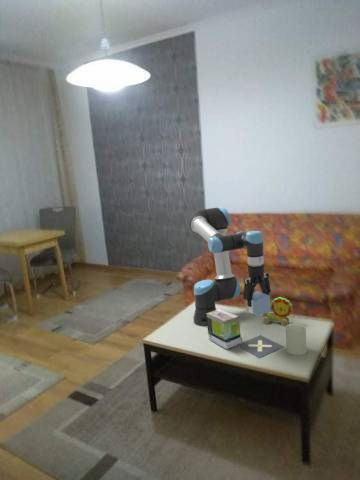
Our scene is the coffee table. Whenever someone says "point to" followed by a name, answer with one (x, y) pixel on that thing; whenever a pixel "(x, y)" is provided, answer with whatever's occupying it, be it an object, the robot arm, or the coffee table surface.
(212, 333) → the tea box
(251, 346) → the letter mat
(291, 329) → the can
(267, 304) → the blue cube
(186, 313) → the coffee table surface
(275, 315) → the toy lion
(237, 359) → the coffee table surface
